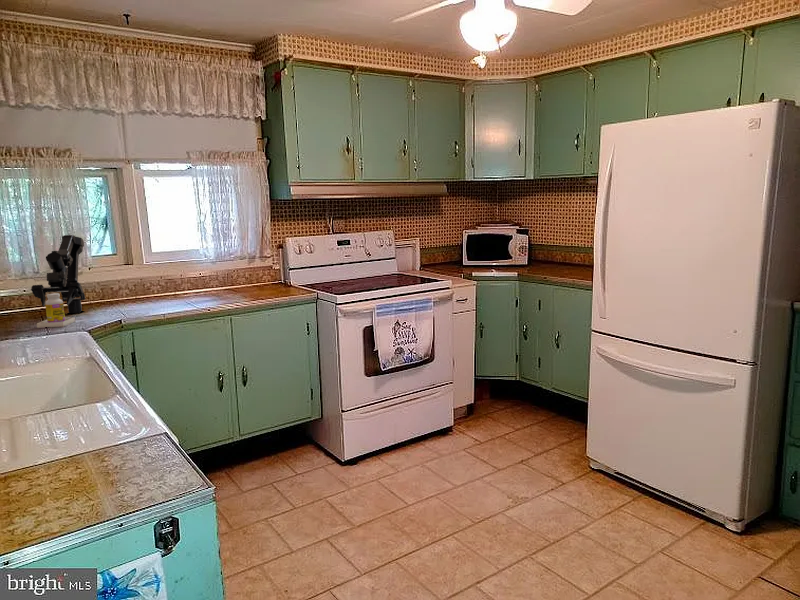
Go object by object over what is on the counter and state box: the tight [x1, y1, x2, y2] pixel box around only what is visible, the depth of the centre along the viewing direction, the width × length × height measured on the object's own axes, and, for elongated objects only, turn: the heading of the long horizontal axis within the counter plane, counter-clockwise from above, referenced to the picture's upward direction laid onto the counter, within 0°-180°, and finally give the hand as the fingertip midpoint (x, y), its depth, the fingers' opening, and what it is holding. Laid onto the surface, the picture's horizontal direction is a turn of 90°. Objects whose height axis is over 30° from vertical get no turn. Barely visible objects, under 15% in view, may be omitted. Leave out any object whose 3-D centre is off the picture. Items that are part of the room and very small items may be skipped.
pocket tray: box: [36, 317, 76, 329], centre depth 245 cm, size 12×11×2 cm
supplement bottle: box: [44, 292, 66, 323], centre depth 244 cm, size 7×7×13 cm
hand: (55, 305), depth 245 cm, fingers open, 9 cm apart
